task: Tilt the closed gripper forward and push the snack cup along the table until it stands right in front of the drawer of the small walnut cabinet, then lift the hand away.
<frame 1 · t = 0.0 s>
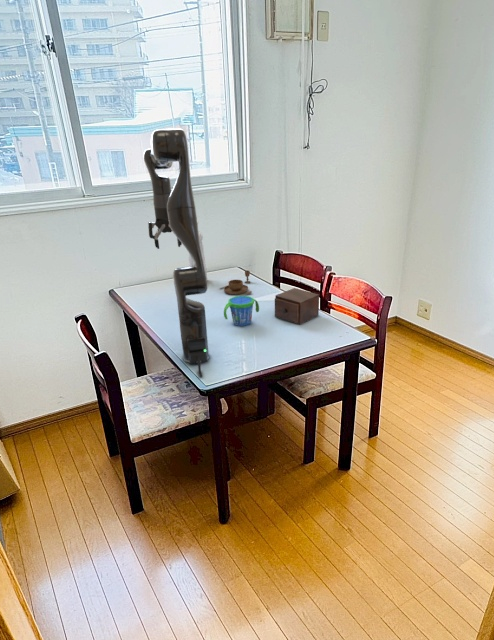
hand: (168, 247, 202), 29 cm above the table, tool pointing down, fingers open, 8 cm apart
drawer: (293, 307, 210), point 5 cm above the table, slide at 0.0 cm, touching cabinet
cabinet: (297, 316, 214), on the table
place setting: (242, 289, 245), on the table
snack cup: (242, 323, 208), on the table
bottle: (198, 282, 257), on the table
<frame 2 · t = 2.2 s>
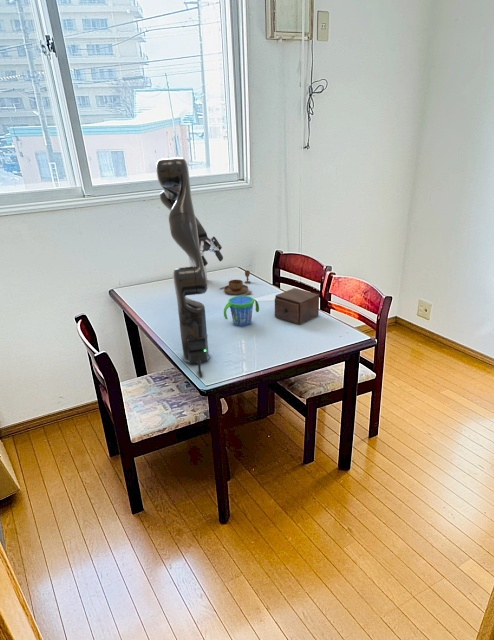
hand: (214, 262, 205), 23 cm above the table, tool tilted 45°, fingers open, 8 cm apart
nothing on the table moved.
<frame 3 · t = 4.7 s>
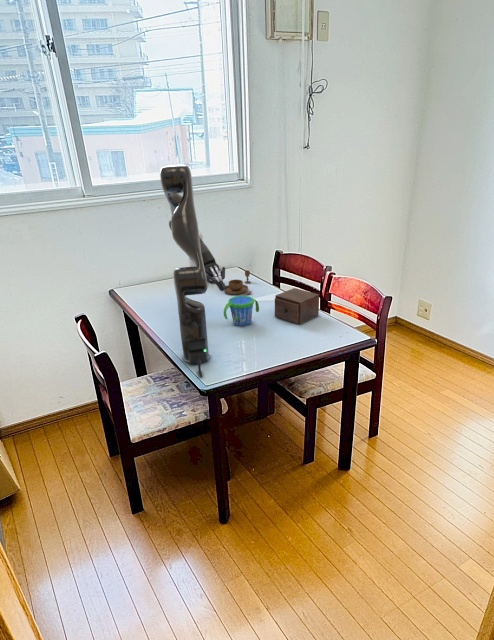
hand: (224, 290, 208), 12 cm above the table, tool tilted 45°, fingers closed
nothing on the table moved.
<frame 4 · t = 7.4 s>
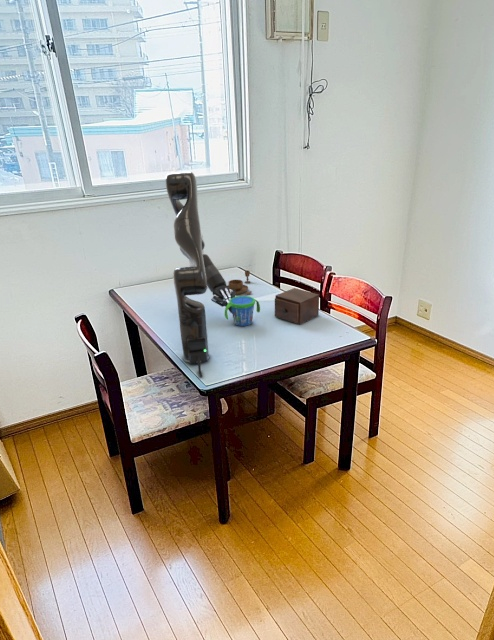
hand: (234, 312, 209), 4 cm above the table, tool tilted 45°, fingers closed
snack cup: (243, 323, 208), on the table, touching gripper
everything else where it was.
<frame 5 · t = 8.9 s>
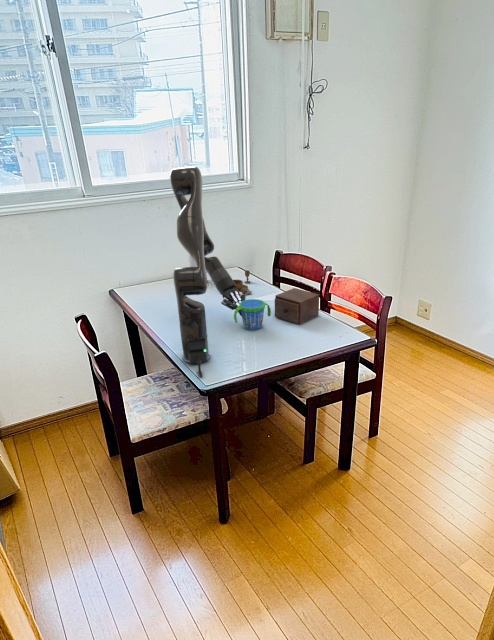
hand: (244, 315, 205), 4 cm above the table, tool tilted 45°, fingers closed
snack cup: (252, 327, 205), on the table, touching gripper
everything else where it was.
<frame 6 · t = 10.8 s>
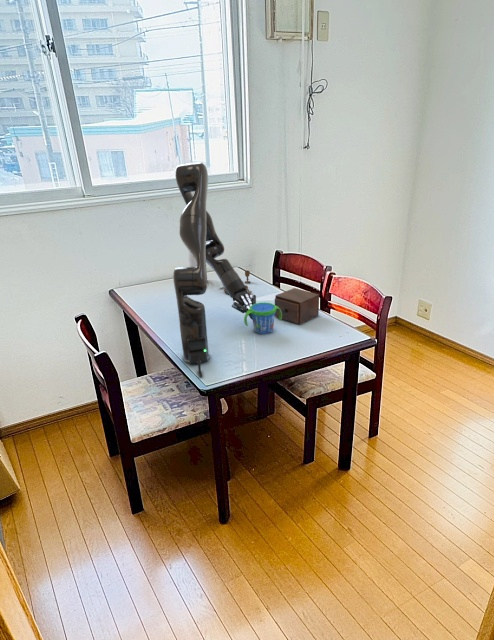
hand: (255, 319, 202), 4 cm above the table, tool tilted 45°, fingers closed
snack cup: (263, 331, 201), on the table, touching gripper
everything else where it was.
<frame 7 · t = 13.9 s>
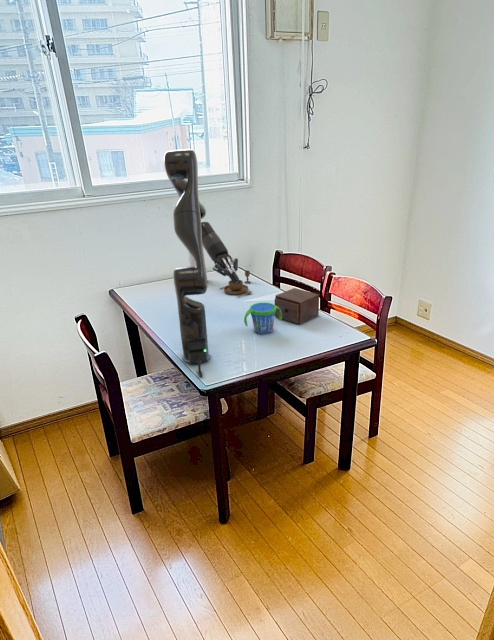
hand: (237, 282, 200), 17 cm above the table, tool tilted 45°, fingers closed
snack cup: (263, 331, 201), on the table
everything else where it was.
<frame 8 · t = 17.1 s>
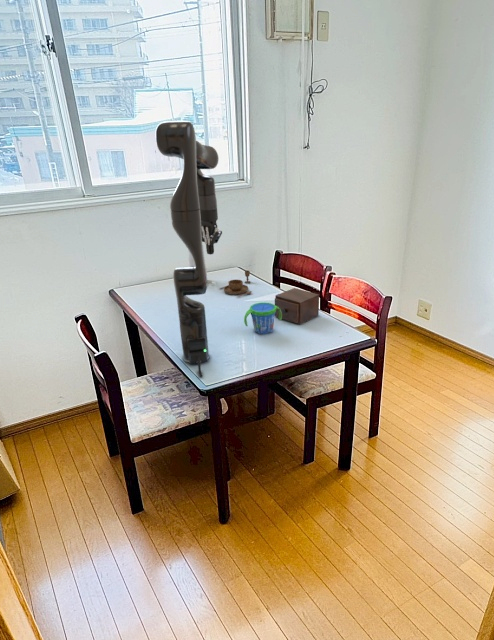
hand: (210, 253, 194), 29 cm above the table, tool pointing down, fingers closed
nothing on the table moved.
at the end: snack cup inside the target area (0.6 cm from its centre), on the table; snack cup tilted 0° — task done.
